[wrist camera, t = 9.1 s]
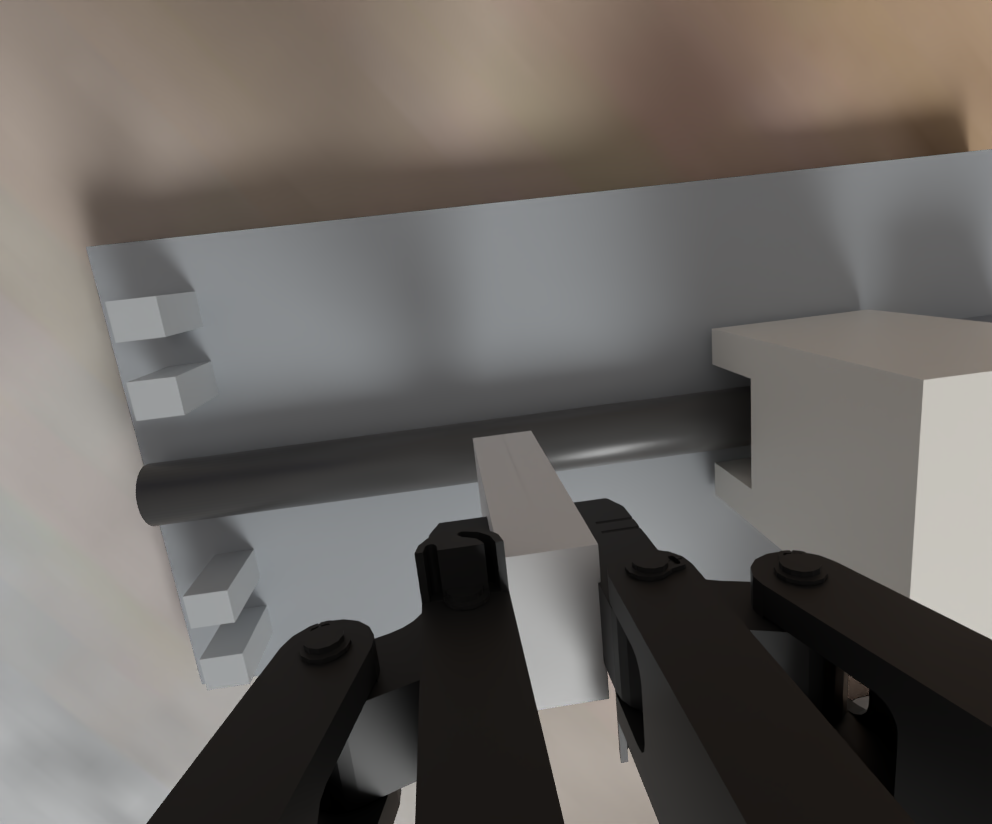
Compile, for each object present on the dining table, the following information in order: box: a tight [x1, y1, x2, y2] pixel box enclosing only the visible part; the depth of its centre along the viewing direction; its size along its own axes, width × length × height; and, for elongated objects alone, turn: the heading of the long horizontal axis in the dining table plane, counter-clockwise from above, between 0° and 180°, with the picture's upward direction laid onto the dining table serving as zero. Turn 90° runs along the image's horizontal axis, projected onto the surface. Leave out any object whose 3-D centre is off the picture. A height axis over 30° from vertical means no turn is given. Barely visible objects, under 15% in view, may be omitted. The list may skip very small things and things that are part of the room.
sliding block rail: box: [86, 149, 992, 690], centre depth 18 cm, size 27×14×6 cm, turn 96°
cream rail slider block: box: [712, 309, 992, 639], centre depth 15 cm, size 5×5×8 cm
